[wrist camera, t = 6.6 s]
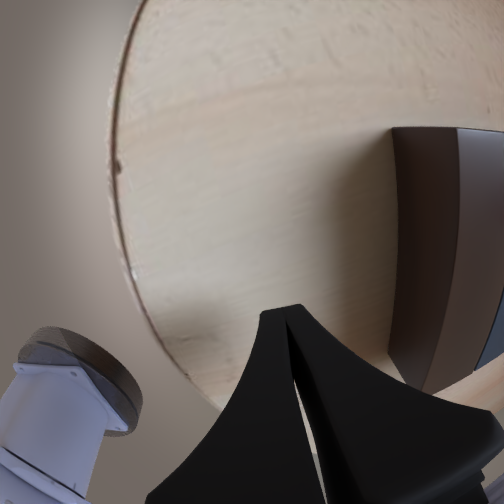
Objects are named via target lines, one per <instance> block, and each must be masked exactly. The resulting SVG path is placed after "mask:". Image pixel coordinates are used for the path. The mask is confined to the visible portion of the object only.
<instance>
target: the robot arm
mask: <svg viewBox="0 0 504 504" xmlns="http://www.w3.org/2000/svg"><path fill="white" fill-rule="evenodd" d="M13 368H14V369H15V371H16V372H17V375H16V377H15V378H14V379H13V381H12V383H11V384H10V386H9V387H8V389H7V390H6V392H5V393H4V395H3V397H2V398H1V400H0V504H92V503H90V502H88V501H86V500H84V499H85V496H86V492H87V489H88V485H89V481H90V478H91V474H92V470H93V467H94V464H95V461H96V457H97V454H98V451H99V447H100V444H101V441H102V438H103V435H104V432H105V429H107V430H116V431H127V430H128V426H127V425H126V424H125V422H124V421H123V420H122V419H121V418H120V417H119V415H118V414H117V413H116V412H115V411H114V409H113V408H112V407H111V406H110V404H109V403H108V402H107V401H106V399H105V398H104V397H103V396H102V394H101V393H100V392H99V390H98V389H97V388H96V386H95V385H94V383H93V382H92V381H91V379H90V378H89V376H88V375H87V374H86V372H85V371H84V370H83V369H82V368H81V367H79V366H56V365H39V364H26V363H16V362H15V363H14V364H13ZM294 380H295V383H296V386H297V389H298V392H299V395H300V398H301V401H302V404H303V407H304V410H305V413H306V416H307V419H308V421H309V424H310V427H311V430H312V434H313V437H314V441H315V445H316V449H317V454H318V458H319V463H320V468H321V473H322V477H323V482H324V487H325V493H326V497H327V503H328V504H504V473H503V474H502V475H501V476H499V477H498V478H497V479H496V480H495V481H493V482H492V483H491V484H489V485H488V486H487V487H486V488H484V489H483V488H482V485H481V482H482V481H484V479H485V477H484V475H483V473H482V471H481V469H482V468H483V467H484V466H485V465H487V464H488V463H489V462H490V461H491V460H492V459H493V458H494V457H495V456H496V455H498V454H499V453H500V452H501V451H502V449H503V448H504V430H503V428H502V427H501V425H500V423H499V422H498V420H497V419H496V418H495V416H494V415H493V414H492V413H491V412H490V411H488V410H483V409H478V408H474V407H469V406H465V405H461V404H457V403H453V402H450V401H447V400H444V399H441V398H438V397H435V396H432V395H429V394H427V393H424V392H422V391H420V390H418V389H415V388H413V387H411V386H409V385H407V384H404V383H402V382H400V381H398V380H396V379H394V378H393V377H391V376H389V375H387V374H385V373H384V372H382V371H380V370H379V369H377V368H375V367H374V366H372V365H371V364H369V363H368V362H366V361H365V360H363V359H362V358H360V357H359V356H358V355H356V354H355V353H354V352H352V351H351V350H350V349H348V348H347V347H346V346H345V345H343V344H342V343H341V342H340V341H339V340H337V339H336V338H335V337H334V336H333V335H332V334H331V333H329V332H328V331H327V330H326V329H325V328H324V327H323V326H322V325H321V324H320V323H319V322H318V321H317V320H316V319H315V318H314V317H313V316H312V315H311V314H310V313H309V312H308V311H307V309H306V308H305V307H304V306H303V305H301V304H296V305H291V306H286V307H281V308H276V309H271V310H265V311H262V312H261V314H260V320H259V326H258V331H257V335H256V339H255V342H254V345H253V348H252V351H251V354H250V357H249V360H248V362H247V364H246V367H245V369H244V372H243V374H242V376H241V379H240V381H239V383H238V385H237V387H236V389H235V391H234V393H233V394H232V396H231V398H230V400H229V401H228V403H227V405H226V407H225V408H224V410H223V411H222V413H221V414H220V416H219V418H218V419H217V421H216V422H215V424H214V425H213V426H212V428H211V429H210V431H209V432H208V433H207V435H206V436H205V437H204V438H203V440H202V441H201V442H200V443H199V444H198V446H197V447H196V448H195V449H194V450H193V451H192V453H191V454H190V455H189V456H188V457H187V458H186V459H185V461H184V462H183V463H182V464H181V465H180V466H179V467H178V468H177V469H176V470H175V471H174V472H173V473H171V474H170V475H169V476H168V477H167V478H166V479H165V480H164V481H163V482H162V483H161V484H159V485H158V486H157V487H156V488H155V489H154V490H153V491H151V492H150V493H149V494H148V495H147V497H146V501H145V504H326V503H325V500H324V496H323V492H322V489H321V485H320V481H319V478H318V474H317V471H316V467H315V463H314V460H313V456H312V452H311V448H310V444H309V441H308V437H307V433H306V429H305V426H304V422H303V418H302V414H301V410H300V406H299V402H298V398H297V394H296V390H295V385H294Z"/></svg>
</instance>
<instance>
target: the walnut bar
mask: <svg viewBox="0 0 504 504" xmlns="http://www.w3.org/2000/svg"><path fill="white" fill-rule="evenodd" d="M392 135H393V143H394V152H395V162H396V174H397V190H398V264H397V280H396V293H395V303H394V312H393V320H392V328H391V335H390V341H389V348H388V355H389V356H390V358H391V360H392V361H393V363H394V364H395V366H396V368H397V369H398V371H399V373H400V374H401V376H402V378H403V379H404V381H405V383H406V384H407V385H409V386H411V387H413V388H415V389H418V390H420V391H422V392H424V393H427V394H429V395H433V394H435V393H437V392H439V391H441V390H443V389H445V388H447V387H449V386H451V385H452V384H454V383H456V382H458V381H460V380H462V379H463V378H465V377H467V376H469V375H470V374H472V373H473V371H474V368H475V366H476V364H477V362H478V360H479V357H480V355H481V353H482V350H483V348H484V345H485V343H486V340H487V338H488V335H489V332H490V329H491V327H492V324H493V321H494V318H495V315H496V312H497V308H498V305H499V302H500V298H501V295H502V291H503V287H504V132H497V131H489V130H481V129H471V128H459V127H392Z"/></svg>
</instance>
